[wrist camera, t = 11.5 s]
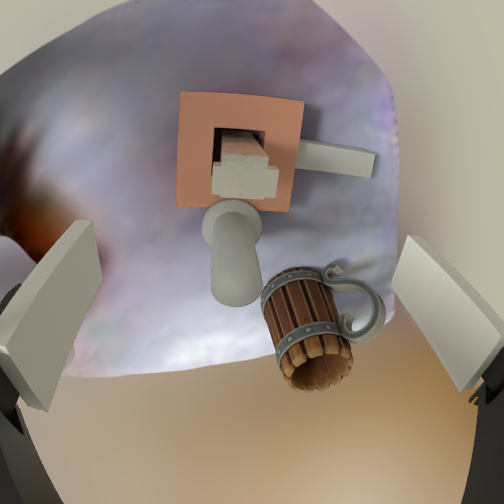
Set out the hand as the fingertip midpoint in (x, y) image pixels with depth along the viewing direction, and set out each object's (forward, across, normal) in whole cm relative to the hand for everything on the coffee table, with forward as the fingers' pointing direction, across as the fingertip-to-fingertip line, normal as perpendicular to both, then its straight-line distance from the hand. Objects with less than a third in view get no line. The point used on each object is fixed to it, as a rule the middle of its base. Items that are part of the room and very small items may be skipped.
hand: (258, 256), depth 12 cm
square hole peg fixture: (+25, +5, -3) cm, 25 cm away
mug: (+25, +12, -19) cm, 34 cm away
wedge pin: (+25, 0, 0) cm, 25 cm away
